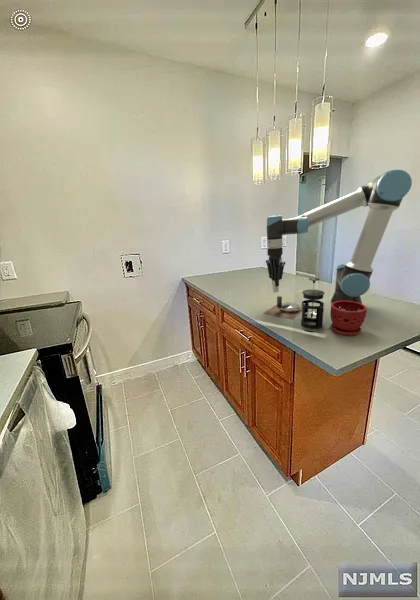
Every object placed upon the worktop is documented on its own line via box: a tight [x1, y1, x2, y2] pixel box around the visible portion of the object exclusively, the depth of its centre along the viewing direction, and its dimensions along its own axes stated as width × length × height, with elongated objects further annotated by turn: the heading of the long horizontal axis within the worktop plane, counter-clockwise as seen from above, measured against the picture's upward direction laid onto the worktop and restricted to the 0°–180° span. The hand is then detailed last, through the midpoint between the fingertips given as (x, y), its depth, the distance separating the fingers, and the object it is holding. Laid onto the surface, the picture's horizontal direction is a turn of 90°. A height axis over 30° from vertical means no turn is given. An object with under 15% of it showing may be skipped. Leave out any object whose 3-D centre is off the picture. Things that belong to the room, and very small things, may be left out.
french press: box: [300, 277, 326, 333], centre depth 109 cm, size 12×9×23 cm
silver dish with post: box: [276, 295, 301, 313], centre depth 130 cm, size 13×10×8 cm
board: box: [263, 303, 302, 321], centre depth 131 cm, size 16×19×2 cm
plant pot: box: [330, 301, 368, 336], centre depth 105 cm, size 13×13×12 cm
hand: (275, 291), depth 133 cm, fingers closed
